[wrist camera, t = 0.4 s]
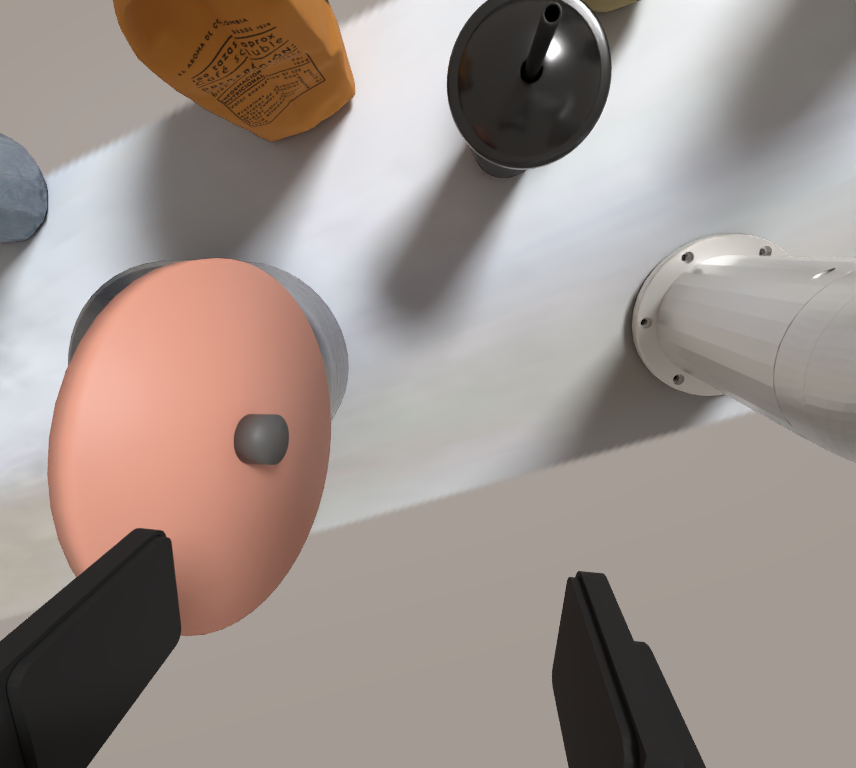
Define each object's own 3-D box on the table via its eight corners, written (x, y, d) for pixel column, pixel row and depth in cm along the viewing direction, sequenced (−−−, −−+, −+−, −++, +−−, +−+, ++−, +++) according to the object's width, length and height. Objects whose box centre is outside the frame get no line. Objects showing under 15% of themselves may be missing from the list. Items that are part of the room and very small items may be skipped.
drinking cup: (470, 211, 36) (474, 168, 17) (441, 108, 34) (410, -70, 15) (567, 178, 35) (688, 92, 16) (543, 69, 33) (646, -176, 14)
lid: (292, 255, 28) (331, 252, 28) (329, 502, 33) (362, 504, 32) (-32, 270, 13) (39, 263, 12) (124, 738, 17) (182, 752, 17)
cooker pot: (338, 250, 38) (295, 250, 28) (362, 448, 43) (332, 505, 33) (137, 266, 40) (32, 271, 30) (182, 455, 44) (104, 511, 35)
